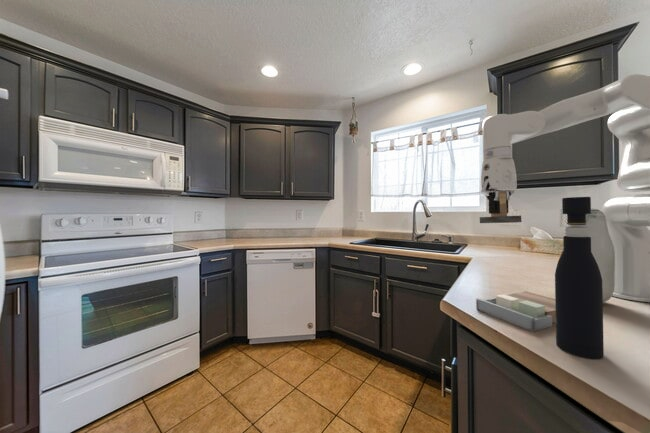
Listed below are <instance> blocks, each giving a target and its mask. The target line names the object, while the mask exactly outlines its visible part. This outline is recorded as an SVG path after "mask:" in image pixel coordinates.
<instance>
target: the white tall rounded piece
mask: <svg viewBox="0 0 650 433" xmlns="http://www.w3.org/2000/svg"><path fill="white" fill-rule="evenodd" d="M567 227H588V230H589V231H588V233H589V235H588V237H591V252H592V254H593V256H594V258H595V260H596V262H597V264H598V266H599V270H600V273H601V277H602V288H603V303H605V302H608V301H609V300H610V299H611V298H612V297H613V296H612V295H613V293H614V287H615V252H614V246H613V243H612V240H611V238H610V235H609V232H608V227H607V222H606V217H605V215H604V213H603V212H602V210H600V209H598V208H593V207H591V214H586V225H568V226H567Z"/></svg>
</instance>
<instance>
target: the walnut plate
mask: <svg viewBox="0 0 650 433" xmlns="http://www.w3.org/2000/svg"><path fill="white" fill-rule="evenodd" d="M507 295H508V296H511V297H514V298H518V299H519V302H521V301H526V300H527V301H530V302H534V303H537V304H540V305H544V306H545V316H546V315H550V316H552V324H556V305H555V298H552V297H549V296H544V295H541V294H537V293H534V292H533V293H532V292H529V291H521V292H516V293H510V294H507Z"/></svg>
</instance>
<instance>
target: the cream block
mask: <svg viewBox="0 0 650 433" xmlns="http://www.w3.org/2000/svg"><path fill="white" fill-rule="evenodd" d="M508 295H509V294H504V293H503V294H499V295H498V294H497V295H495V298H496V305H499V306H502V307H505V308H508V309H511V310H514V311H517V312H519V299H518V298H514V297H511V296H508Z"/></svg>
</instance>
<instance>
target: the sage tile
mask: <svg viewBox="0 0 650 433" xmlns="http://www.w3.org/2000/svg"><path fill="white" fill-rule="evenodd" d="M519 313H522V314H525V315H528V316H531V317H534V318H537V317H541V316H545V306H544V305H540V304H537V303H534V302H530V301H527V300H526V301H521V302H519Z"/></svg>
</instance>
